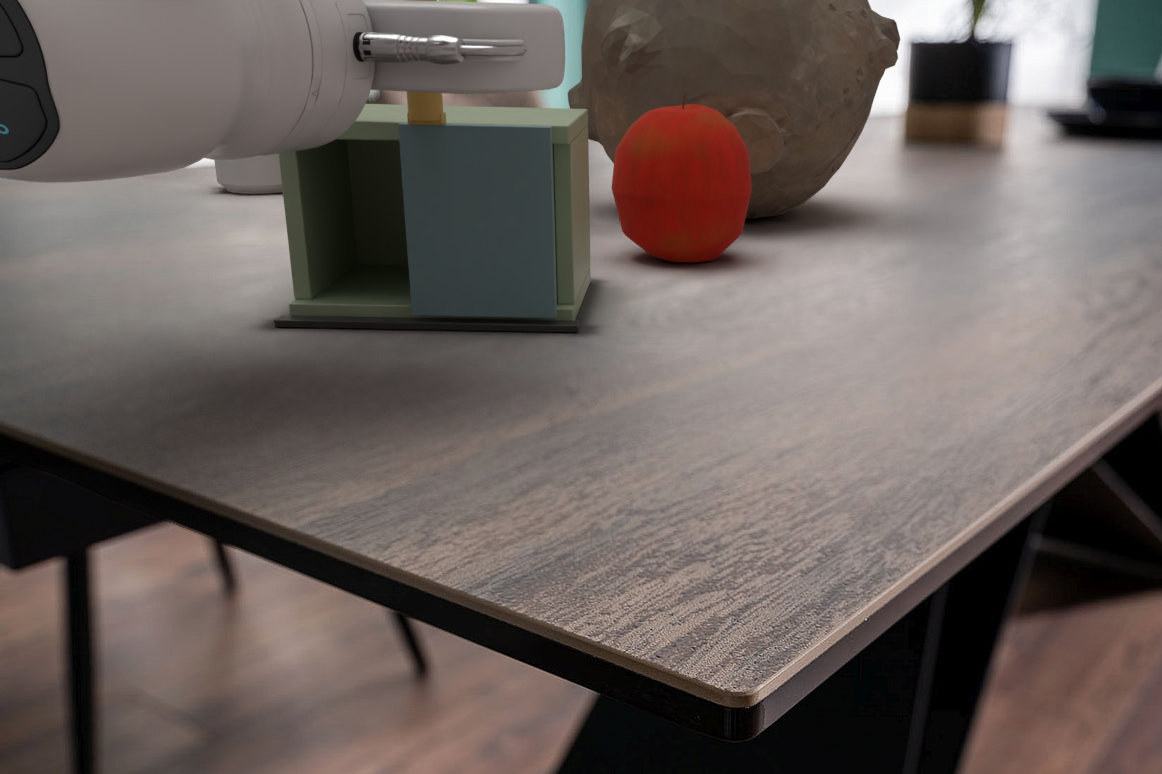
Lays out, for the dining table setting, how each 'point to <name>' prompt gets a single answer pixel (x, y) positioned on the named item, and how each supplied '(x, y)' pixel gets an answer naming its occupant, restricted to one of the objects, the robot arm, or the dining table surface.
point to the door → (477, 215)
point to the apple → (682, 183)
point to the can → (250, 175)
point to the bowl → (742, 79)
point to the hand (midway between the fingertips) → (426, 39)
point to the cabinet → (378, 233)
